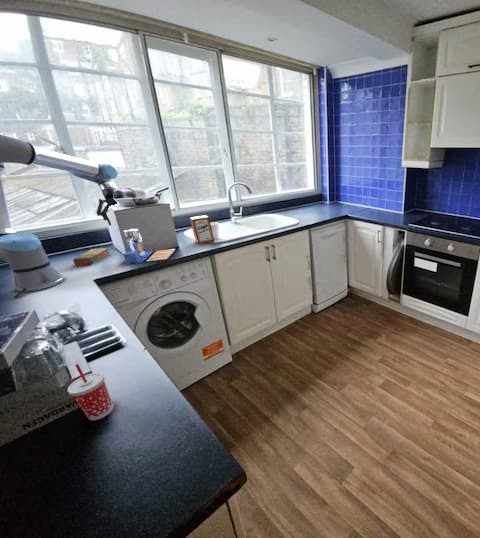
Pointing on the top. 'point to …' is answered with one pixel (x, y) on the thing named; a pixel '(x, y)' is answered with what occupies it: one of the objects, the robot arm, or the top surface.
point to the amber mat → (161, 254)
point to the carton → (90, 257)
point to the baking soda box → (202, 229)
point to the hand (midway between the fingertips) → (125, 221)
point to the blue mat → (142, 257)
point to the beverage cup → (91, 395)
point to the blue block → (132, 256)
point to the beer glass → (134, 241)
